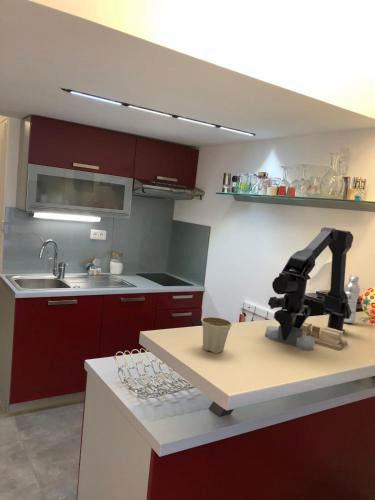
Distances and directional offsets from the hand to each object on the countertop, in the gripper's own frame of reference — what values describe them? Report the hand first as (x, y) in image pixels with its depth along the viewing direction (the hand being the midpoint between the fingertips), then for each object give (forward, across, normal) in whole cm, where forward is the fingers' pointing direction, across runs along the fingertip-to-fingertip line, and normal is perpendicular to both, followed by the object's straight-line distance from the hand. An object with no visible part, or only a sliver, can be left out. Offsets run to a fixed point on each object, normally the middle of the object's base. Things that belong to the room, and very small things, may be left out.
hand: (289, 337), depth 139 cm
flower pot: (+2, +28, -13) cm, 31 cm away
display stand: (+2, -12, +5) cm, 13 cm away
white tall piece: (+2, -48, +7) cm, 48 cm away
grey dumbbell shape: (+2, 0, 0) cm, 2 cm away
